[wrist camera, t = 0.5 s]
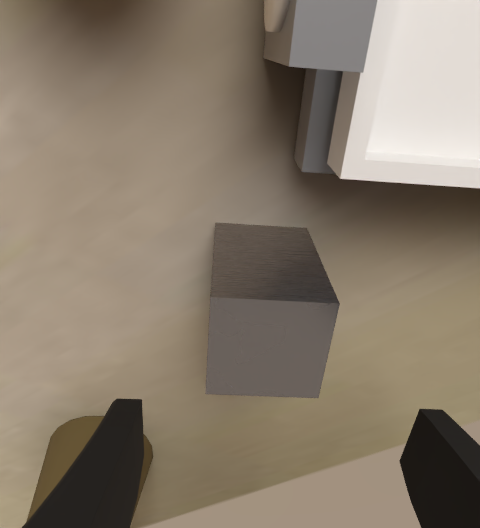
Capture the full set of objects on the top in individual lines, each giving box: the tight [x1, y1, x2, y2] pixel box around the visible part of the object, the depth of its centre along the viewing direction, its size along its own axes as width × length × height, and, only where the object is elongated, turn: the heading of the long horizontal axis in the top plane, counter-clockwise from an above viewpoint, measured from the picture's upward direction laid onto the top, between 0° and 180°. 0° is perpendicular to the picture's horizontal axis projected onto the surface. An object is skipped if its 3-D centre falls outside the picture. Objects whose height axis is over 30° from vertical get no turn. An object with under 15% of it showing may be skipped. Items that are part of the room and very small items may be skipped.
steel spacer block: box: [206, 223, 340, 398], centre depth 16 cm, size 4×4×6 cm
